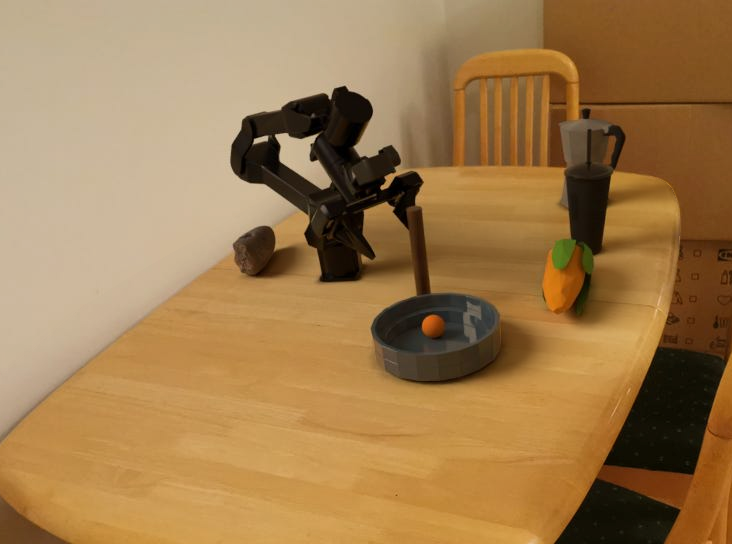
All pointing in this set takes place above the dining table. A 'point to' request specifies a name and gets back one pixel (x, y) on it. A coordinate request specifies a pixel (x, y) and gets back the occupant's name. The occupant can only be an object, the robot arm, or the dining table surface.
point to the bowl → (442, 354)
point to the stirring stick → (418, 250)
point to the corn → (567, 275)
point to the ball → (433, 326)
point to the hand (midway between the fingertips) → (397, 248)
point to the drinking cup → (588, 199)
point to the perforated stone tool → (254, 249)
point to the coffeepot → (577, 142)
